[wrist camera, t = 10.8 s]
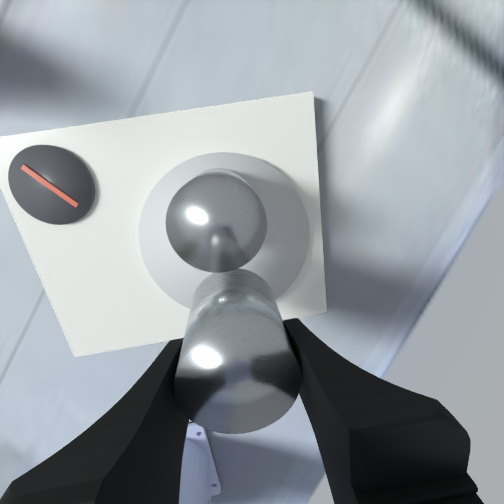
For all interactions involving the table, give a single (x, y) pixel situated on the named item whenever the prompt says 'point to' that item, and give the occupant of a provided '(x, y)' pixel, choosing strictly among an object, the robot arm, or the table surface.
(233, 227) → the cylinder
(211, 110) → the scale
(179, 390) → the cylinder
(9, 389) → the table surface
